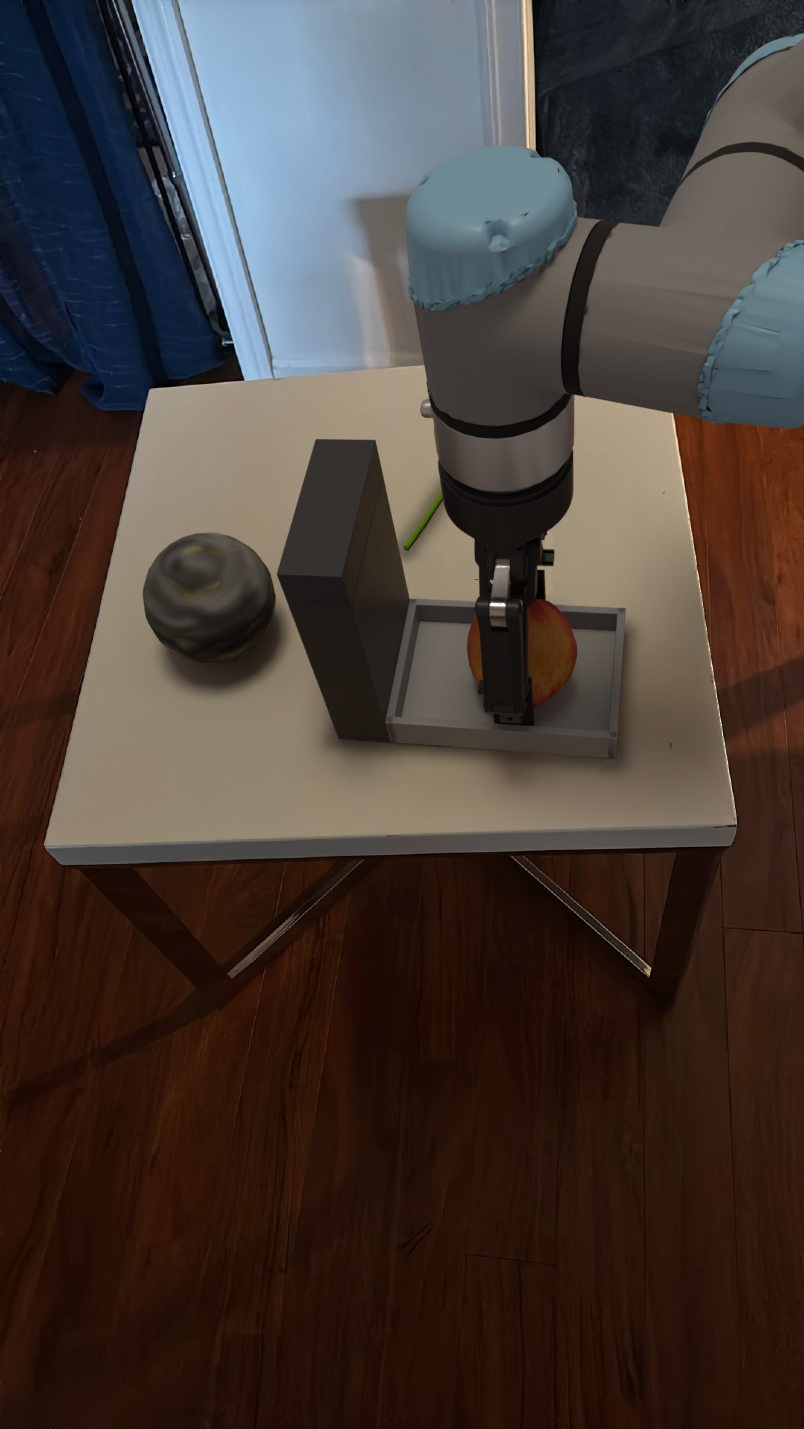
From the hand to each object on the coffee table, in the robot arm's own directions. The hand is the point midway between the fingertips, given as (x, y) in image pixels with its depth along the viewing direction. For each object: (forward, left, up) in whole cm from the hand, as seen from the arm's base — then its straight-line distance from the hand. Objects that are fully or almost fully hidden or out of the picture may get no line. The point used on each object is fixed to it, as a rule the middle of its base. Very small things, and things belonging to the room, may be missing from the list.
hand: (521, 678), depth 76 cm
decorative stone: (+24, -3, -1) cm, 24 cm away
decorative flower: (+6, -19, -1) cm, 20 cm away
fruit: (0, 0, 0) cm, 0 cm away
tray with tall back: (+3, 0, -1) cm, 3 cm away
